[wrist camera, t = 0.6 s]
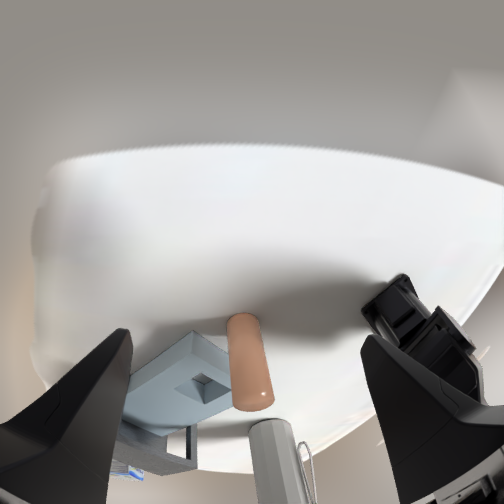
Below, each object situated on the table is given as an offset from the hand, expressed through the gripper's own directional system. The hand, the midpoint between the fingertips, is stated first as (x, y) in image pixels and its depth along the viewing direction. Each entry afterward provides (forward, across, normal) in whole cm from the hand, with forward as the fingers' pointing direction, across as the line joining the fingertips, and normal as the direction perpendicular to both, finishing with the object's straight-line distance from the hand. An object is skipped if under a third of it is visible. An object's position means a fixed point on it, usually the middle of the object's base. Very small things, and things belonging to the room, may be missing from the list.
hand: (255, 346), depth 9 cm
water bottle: (+14, -9, +34) cm, 38 cm away
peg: (+14, -2, +11) cm, 18 cm away
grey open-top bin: (+13, +10, +27) cm, 32 cm away
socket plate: (+14, +6, +22) cm, 27 cm away
